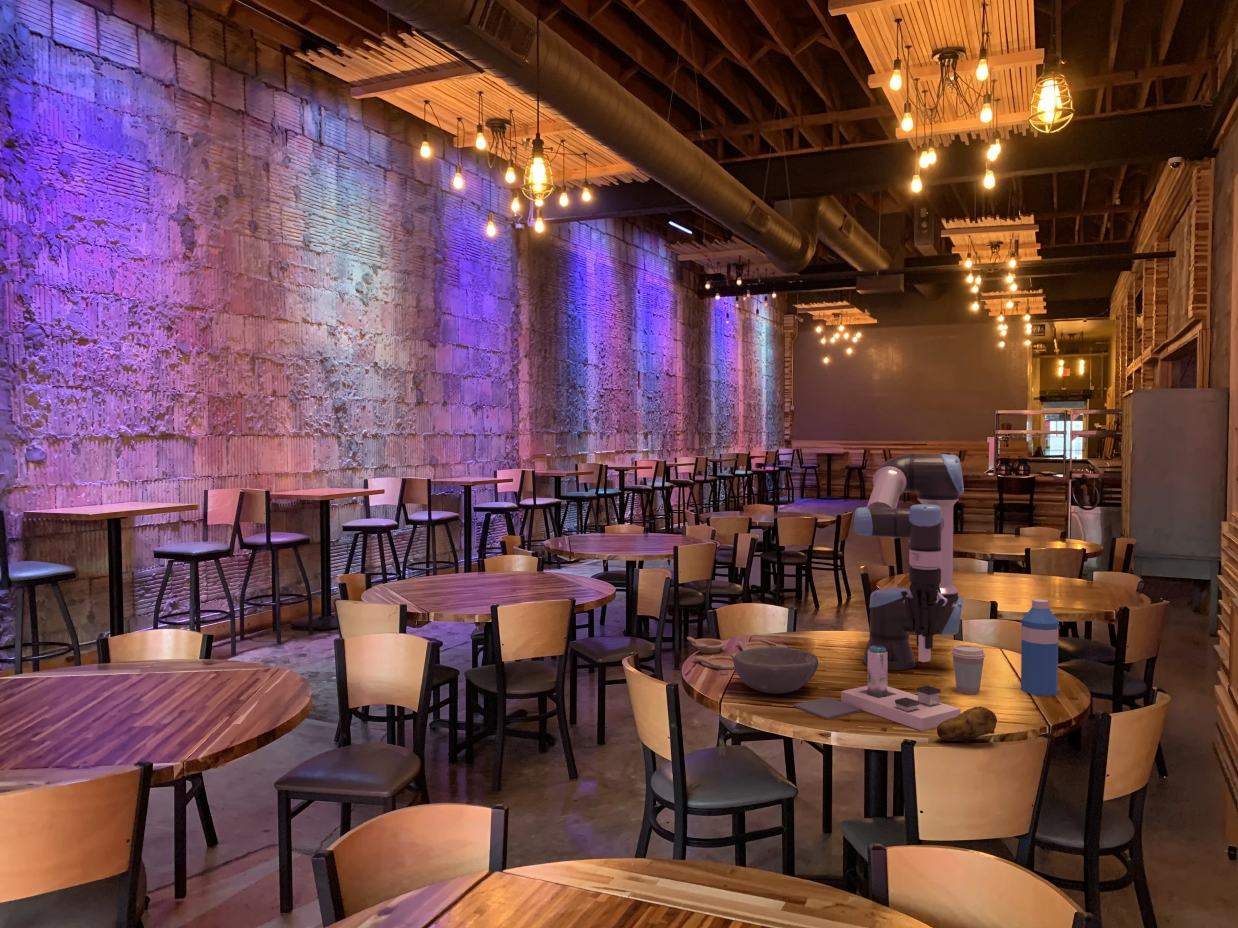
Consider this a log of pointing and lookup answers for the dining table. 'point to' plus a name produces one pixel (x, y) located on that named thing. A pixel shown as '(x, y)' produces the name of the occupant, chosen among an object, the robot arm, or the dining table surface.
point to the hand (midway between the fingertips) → (924, 660)
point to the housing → (887, 709)
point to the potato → (968, 725)
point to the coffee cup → (968, 668)
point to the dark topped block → (928, 695)
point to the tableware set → (716, 645)
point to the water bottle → (1039, 650)
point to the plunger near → (907, 704)
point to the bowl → (775, 668)
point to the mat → (827, 708)
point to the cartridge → (877, 671)
